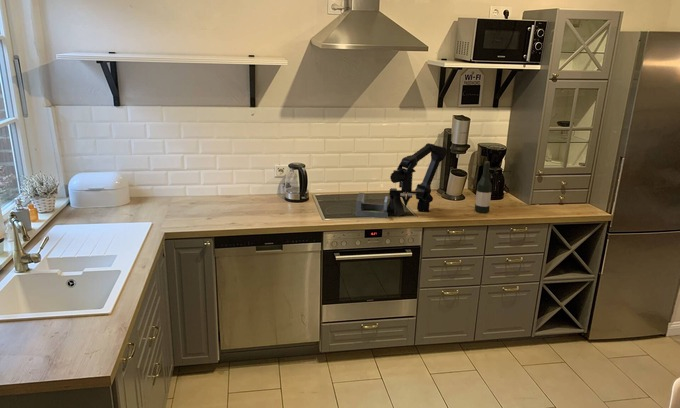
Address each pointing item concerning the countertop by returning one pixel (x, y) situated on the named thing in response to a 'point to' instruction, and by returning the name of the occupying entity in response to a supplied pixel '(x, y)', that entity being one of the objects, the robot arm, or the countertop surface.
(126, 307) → the countertop surface
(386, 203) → the paddle
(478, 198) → the wine bottle
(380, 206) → the gauge frame
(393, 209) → the phone stand
